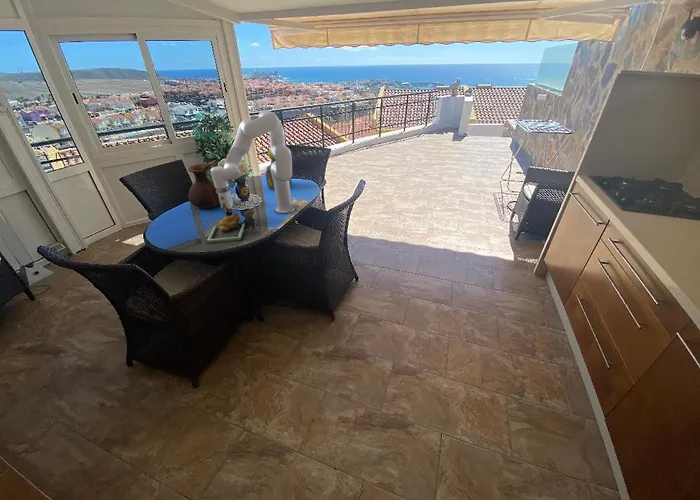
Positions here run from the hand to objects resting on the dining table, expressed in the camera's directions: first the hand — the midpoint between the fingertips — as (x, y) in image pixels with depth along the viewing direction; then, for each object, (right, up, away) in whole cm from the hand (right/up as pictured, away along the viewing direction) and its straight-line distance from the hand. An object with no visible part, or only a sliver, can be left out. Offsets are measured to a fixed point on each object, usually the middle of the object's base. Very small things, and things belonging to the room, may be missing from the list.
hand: (230, 217), depth 178 cm
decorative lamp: (+18, +30, +52) cm, 62 cm away
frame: (+2, -10, -9) cm, 14 cm away
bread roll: (+1, -7, -4) cm, 8 cm away
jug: (-24, +11, +24) cm, 36 cm away
